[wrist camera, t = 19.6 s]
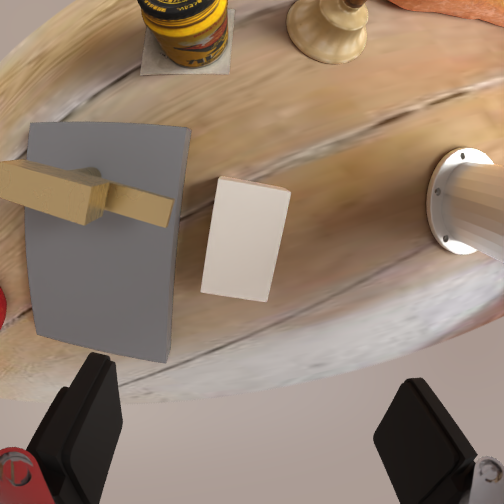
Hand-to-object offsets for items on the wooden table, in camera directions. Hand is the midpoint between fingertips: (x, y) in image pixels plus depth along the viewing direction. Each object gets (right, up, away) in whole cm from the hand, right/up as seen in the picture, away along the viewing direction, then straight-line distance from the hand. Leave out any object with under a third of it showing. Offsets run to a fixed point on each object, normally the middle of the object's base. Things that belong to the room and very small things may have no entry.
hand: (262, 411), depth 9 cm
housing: (-16, +6, +21) cm, 26 cm away
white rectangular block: (-1, +7, +22) cm, 23 cm away
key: (-12, +11, +16) cm, 23 cm away
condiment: (-6, +25, +16) cm, 30 cm away
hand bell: (+7, +27, +16) cm, 32 cm away
